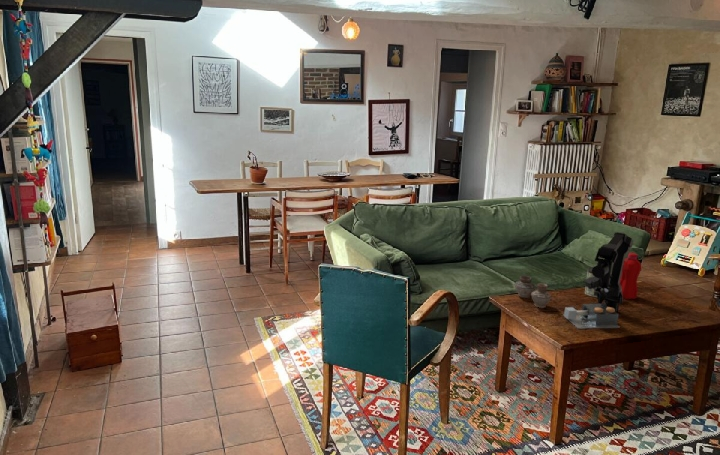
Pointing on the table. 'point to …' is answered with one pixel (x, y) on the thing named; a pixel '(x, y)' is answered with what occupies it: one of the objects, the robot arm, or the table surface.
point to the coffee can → (587, 291)
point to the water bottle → (630, 276)
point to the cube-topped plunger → (574, 313)
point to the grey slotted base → (595, 318)
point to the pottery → (533, 291)
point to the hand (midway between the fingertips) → (599, 303)
